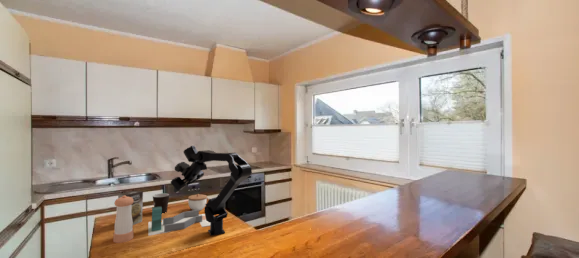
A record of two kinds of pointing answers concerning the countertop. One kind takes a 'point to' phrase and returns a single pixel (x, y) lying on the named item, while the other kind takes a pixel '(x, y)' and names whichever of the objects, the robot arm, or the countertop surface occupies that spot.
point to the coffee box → (135, 205)
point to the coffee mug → (161, 201)
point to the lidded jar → (197, 201)
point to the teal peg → (156, 218)
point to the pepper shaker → (123, 220)
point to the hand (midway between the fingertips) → (180, 187)
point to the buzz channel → (179, 222)
